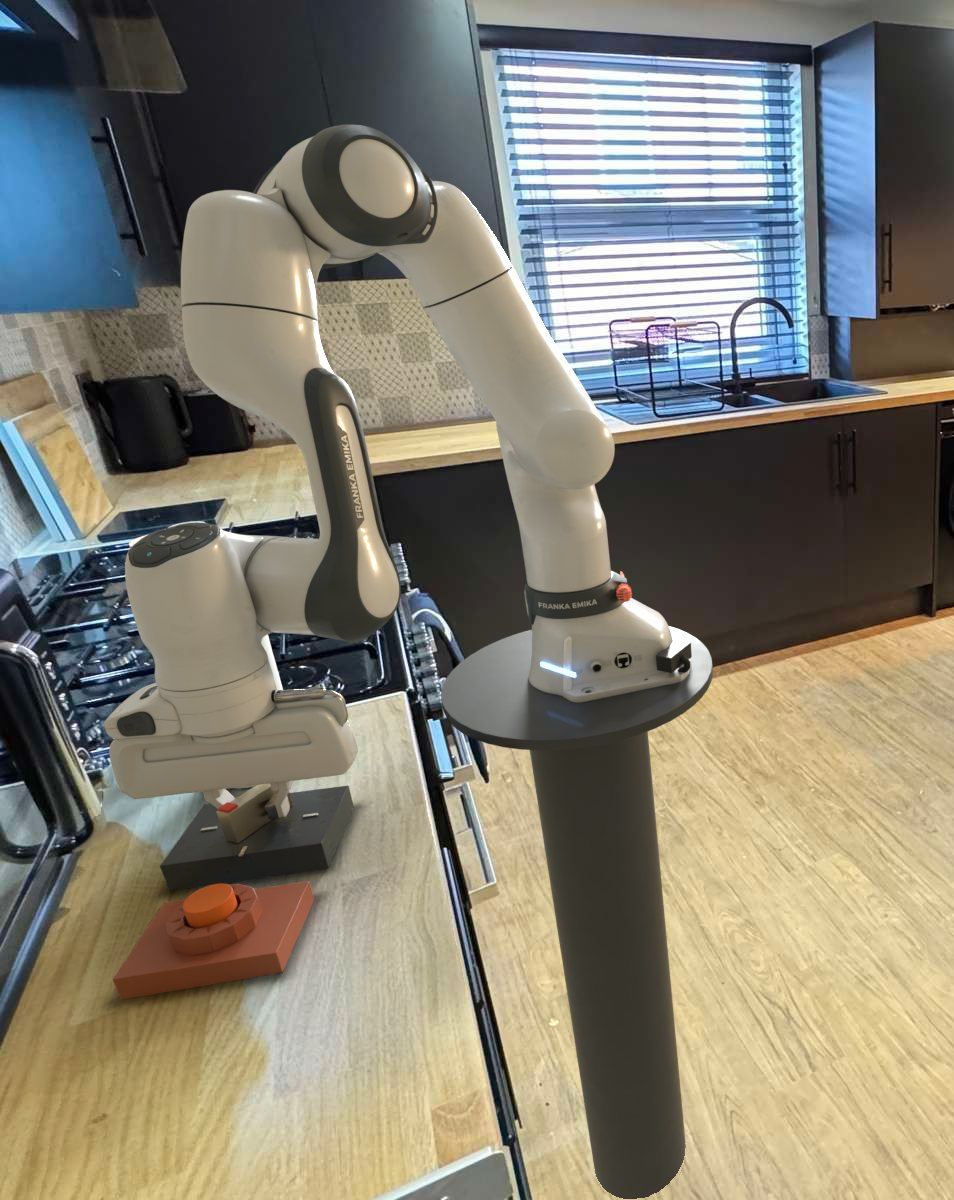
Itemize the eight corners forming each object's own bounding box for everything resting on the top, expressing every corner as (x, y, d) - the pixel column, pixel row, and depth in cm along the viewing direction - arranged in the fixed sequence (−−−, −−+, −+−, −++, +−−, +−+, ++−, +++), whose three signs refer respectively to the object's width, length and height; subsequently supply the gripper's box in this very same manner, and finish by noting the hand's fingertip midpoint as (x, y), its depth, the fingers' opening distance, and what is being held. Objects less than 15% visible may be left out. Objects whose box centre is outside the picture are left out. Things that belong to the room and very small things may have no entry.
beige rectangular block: (281, 802, 88) (272, 772, 87) (293, 805, 88) (284, 774, 86) (225, 840, 82) (215, 809, 81) (238, 843, 82) (227, 811, 80)
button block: (314, 899, 79) (304, 865, 77) (282, 972, 71) (270, 936, 69) (171, 921, 77) (157, 886, 75) (120, 999, 68) (104, 962, 67)
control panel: (355, 806, 92) (349, 782, 91) (327, 870, 83) (320, 844, 82) (213, 825, 90) (205, 800, 88) (167, 893, 80) (157, 866, 79)
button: (244, 896, 74) (239, 880, 74) (228, 925, 71) (222, 908, 70) (198, 902, 74) (193, 886, 73) (180, 932, 70) (174, 916, 70)
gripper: (349, 670, 84) (377, 786, 90) (119, 692, 81) (162, 812, 86) (331, 700, 79) (361, 821, 84) (82, 725, 75) (130, 851, 80)
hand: (259, 817), depth 85 cm, fingers closed on beige rectangular block, 2 cm apart
